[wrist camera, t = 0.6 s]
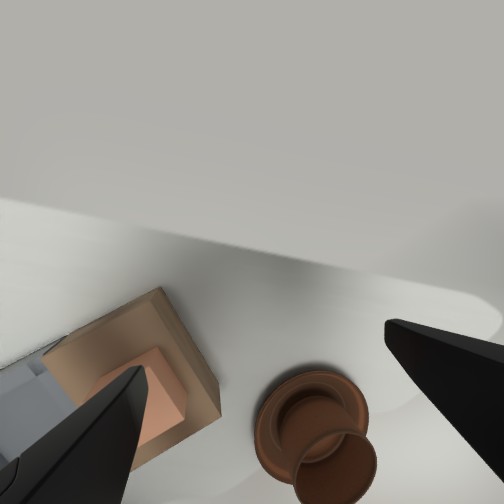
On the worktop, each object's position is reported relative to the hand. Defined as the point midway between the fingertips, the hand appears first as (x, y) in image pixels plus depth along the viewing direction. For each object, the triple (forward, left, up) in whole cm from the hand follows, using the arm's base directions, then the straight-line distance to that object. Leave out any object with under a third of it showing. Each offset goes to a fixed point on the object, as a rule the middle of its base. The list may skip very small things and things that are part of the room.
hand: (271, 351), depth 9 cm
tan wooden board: (-10, -3, -14) cm, 17 cm away
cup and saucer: (0, -17, -14) cm, 22 cm away
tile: (-9, -3, -10) cm, 14 cm away
